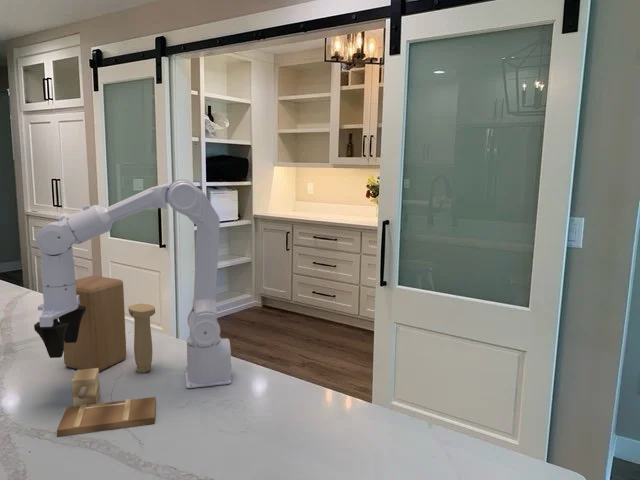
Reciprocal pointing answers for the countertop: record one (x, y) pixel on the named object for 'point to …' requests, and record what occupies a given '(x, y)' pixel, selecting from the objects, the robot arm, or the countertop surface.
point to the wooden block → (98, 325)
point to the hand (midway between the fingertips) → (63, 349)
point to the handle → (142, 335)
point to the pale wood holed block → (86, 387)
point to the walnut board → (107, 416)
